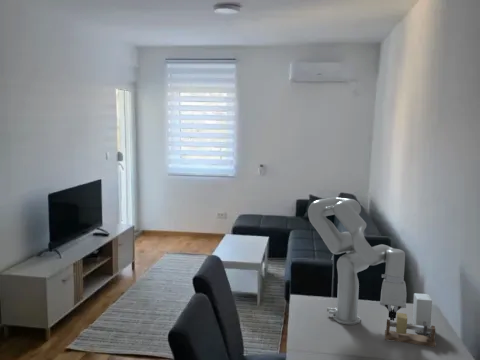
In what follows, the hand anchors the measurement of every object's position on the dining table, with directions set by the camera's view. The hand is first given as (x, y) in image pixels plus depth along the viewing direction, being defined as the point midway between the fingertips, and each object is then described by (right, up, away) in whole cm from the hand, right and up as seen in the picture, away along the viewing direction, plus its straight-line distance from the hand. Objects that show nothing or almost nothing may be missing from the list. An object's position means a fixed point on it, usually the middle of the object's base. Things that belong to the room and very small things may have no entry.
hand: (392, 319), depth 192 cm
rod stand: (+7, -9, -1) cm, 11 cm away
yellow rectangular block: (+4, -5, 0) cm, 6 cm away
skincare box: (+16, -8, +9) cm, 20 cm away
